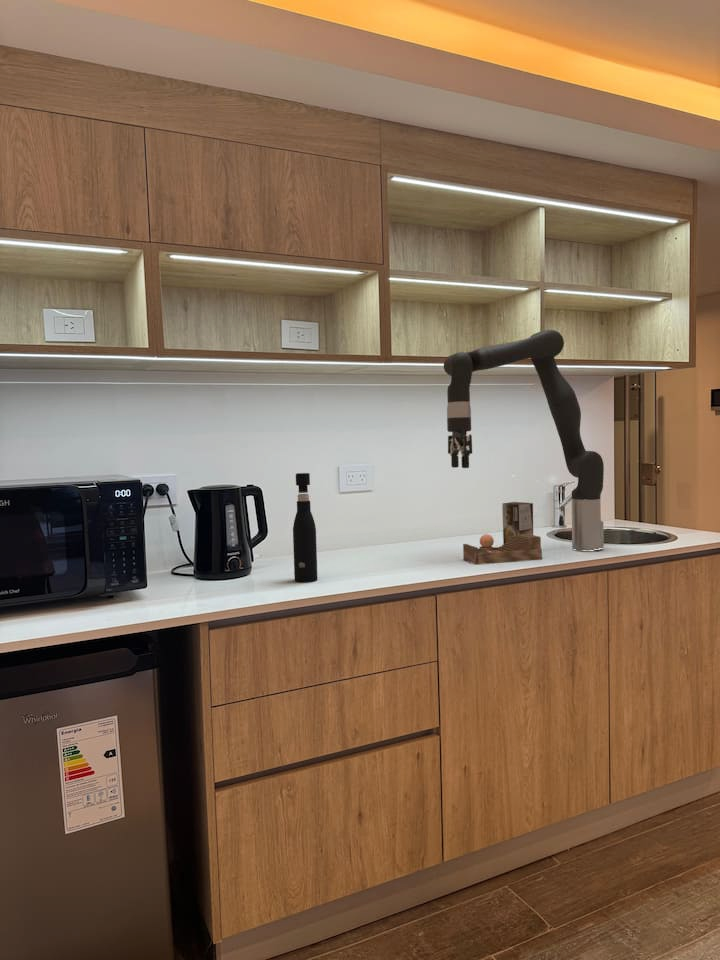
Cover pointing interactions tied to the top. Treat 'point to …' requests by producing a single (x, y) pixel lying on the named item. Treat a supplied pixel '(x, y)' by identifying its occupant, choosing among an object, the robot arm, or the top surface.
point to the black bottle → (304, 535)
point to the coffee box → (517, 519)
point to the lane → (506, 551)
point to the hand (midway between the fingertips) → (460, 467)
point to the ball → (486, 541)
